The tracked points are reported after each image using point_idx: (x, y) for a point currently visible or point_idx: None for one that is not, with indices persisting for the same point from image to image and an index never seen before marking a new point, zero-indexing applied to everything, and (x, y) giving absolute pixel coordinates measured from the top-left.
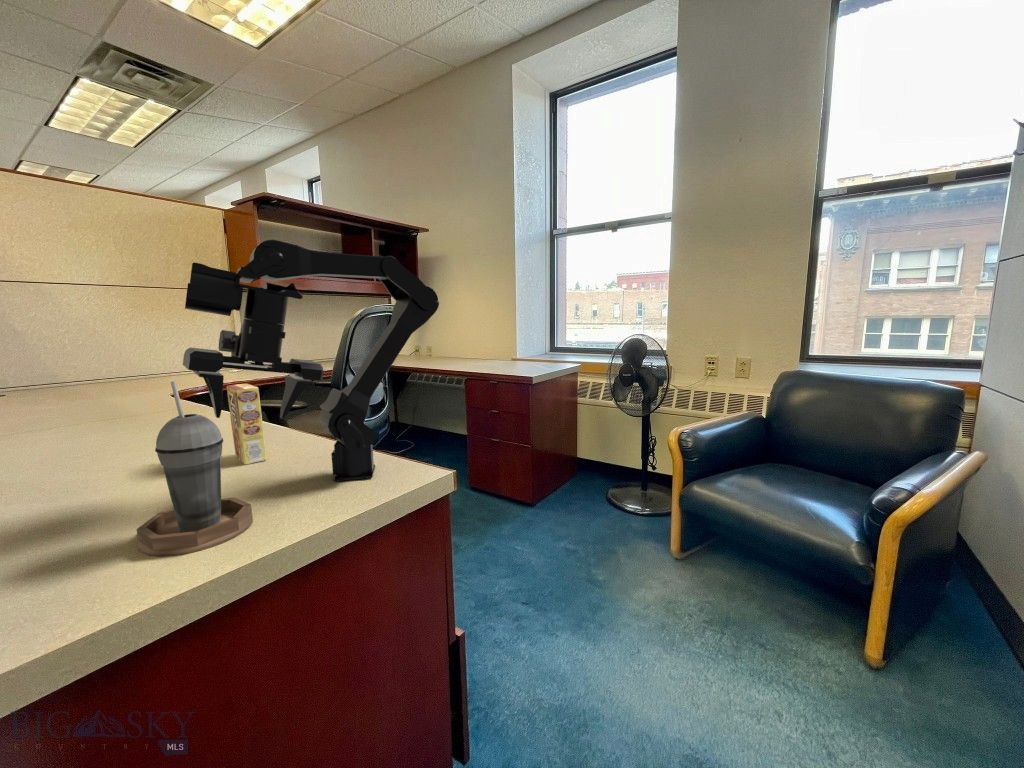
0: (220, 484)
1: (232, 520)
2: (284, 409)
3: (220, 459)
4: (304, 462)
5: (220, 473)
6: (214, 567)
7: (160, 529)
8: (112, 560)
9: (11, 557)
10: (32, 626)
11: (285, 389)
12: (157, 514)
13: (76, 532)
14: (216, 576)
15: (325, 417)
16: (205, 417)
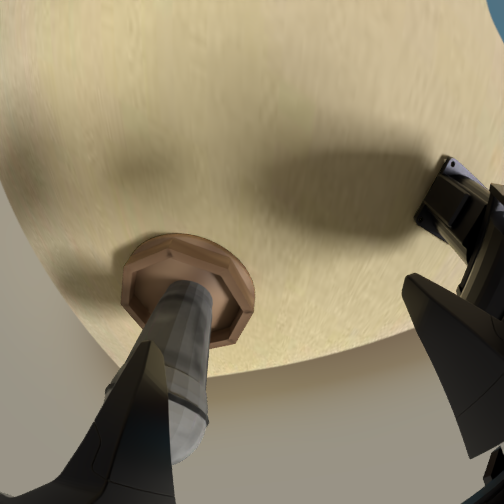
0: (208, 353)
1: (228, 344)
2: (420, 337)
3: (204, 384)
4: (404, 27)
5: (207, 366)
6: (217, 365)
7: (139, 276)
8: (119, 306)
9: (29, 241)
10: (120, 360)
11: (498, 369)
12: (125, 271)
13: (45, 203)
14: (220, 375)
15: (488, 307)
16: (174, 461)
